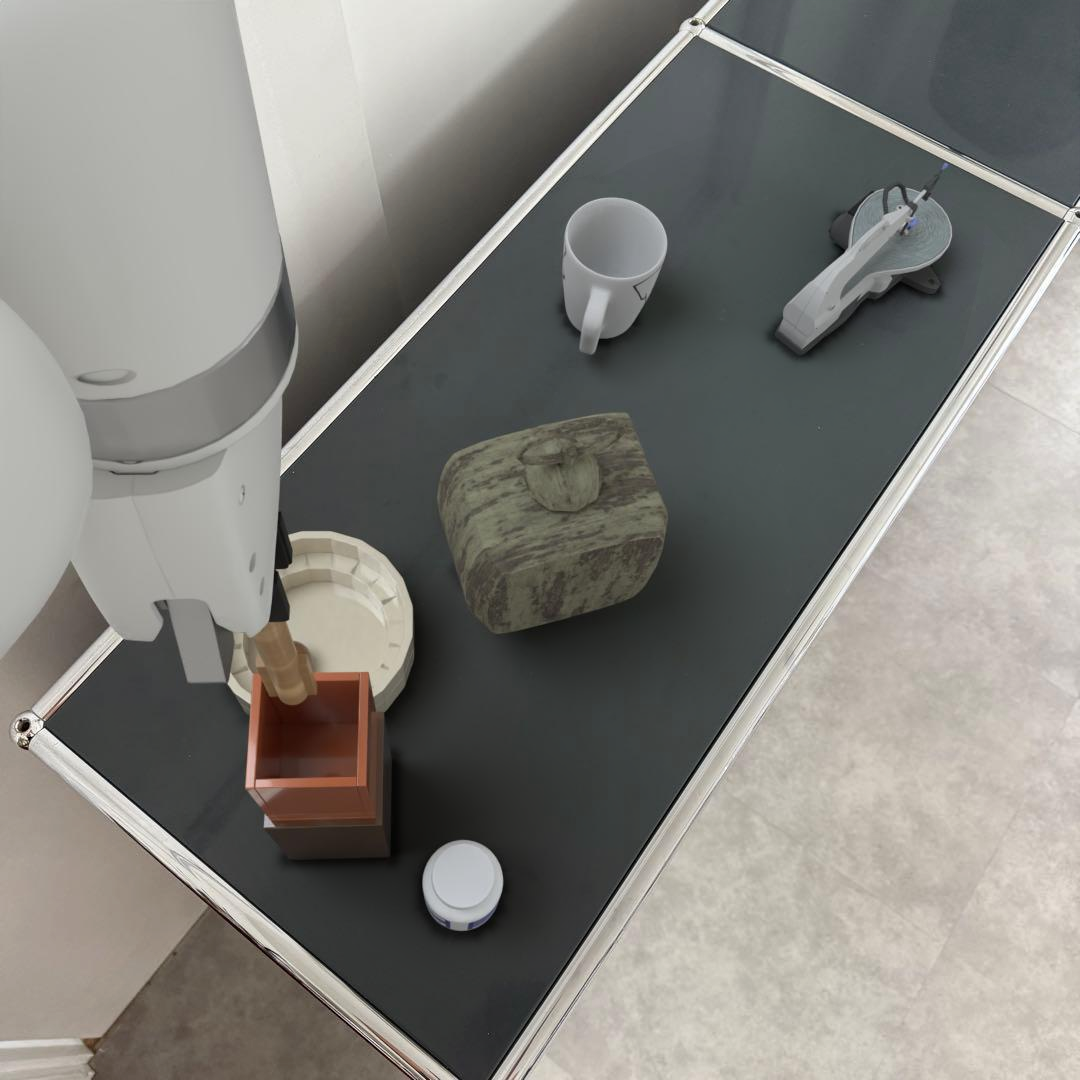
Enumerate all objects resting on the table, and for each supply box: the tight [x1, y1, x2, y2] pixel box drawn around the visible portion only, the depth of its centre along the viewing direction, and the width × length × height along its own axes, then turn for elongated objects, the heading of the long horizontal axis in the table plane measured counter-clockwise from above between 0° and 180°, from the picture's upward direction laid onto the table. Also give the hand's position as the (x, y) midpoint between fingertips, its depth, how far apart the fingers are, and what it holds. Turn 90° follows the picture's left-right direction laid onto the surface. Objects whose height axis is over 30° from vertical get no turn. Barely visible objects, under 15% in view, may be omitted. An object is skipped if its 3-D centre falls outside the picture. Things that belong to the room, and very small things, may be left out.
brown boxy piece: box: [244, 672, 393, 861], centre depth 69 cm, size 7×7×23 cm
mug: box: [561, 197, 668, 355], centre depth 93 cm, size 11×8×10 cm
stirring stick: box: [252, 621, 317, 705], centre depth 48 cm, size 2×2×20 cm
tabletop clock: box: [436, 412, 669, 635], centre depth 76 cm, size 14×9×25 cm, turn 107°
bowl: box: [225, 530, 415, 717], centre depth 81 cm, size 14×14×6 cm
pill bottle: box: [421, 839, 504, 932], centre depth 73 cm, size 5×5×9 cm
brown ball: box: [293, 641, 312, 664], centre depth 81 cm, size 3×3×3 cm
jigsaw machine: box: [774, 162, 953, 357], centre depth 97 cm, size 20×11×12 cm
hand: (250, 586), depth 43 cm, fingers closed on stirring stick, 1 cm apart
